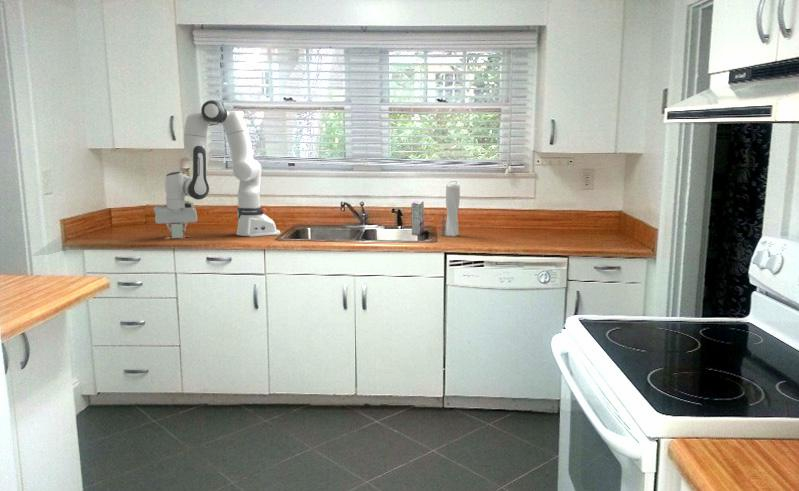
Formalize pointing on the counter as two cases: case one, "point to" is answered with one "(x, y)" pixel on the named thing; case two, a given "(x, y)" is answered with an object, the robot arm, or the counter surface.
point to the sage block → (177, 230)
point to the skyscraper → (451, 210)
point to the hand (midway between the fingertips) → (177, 231)
